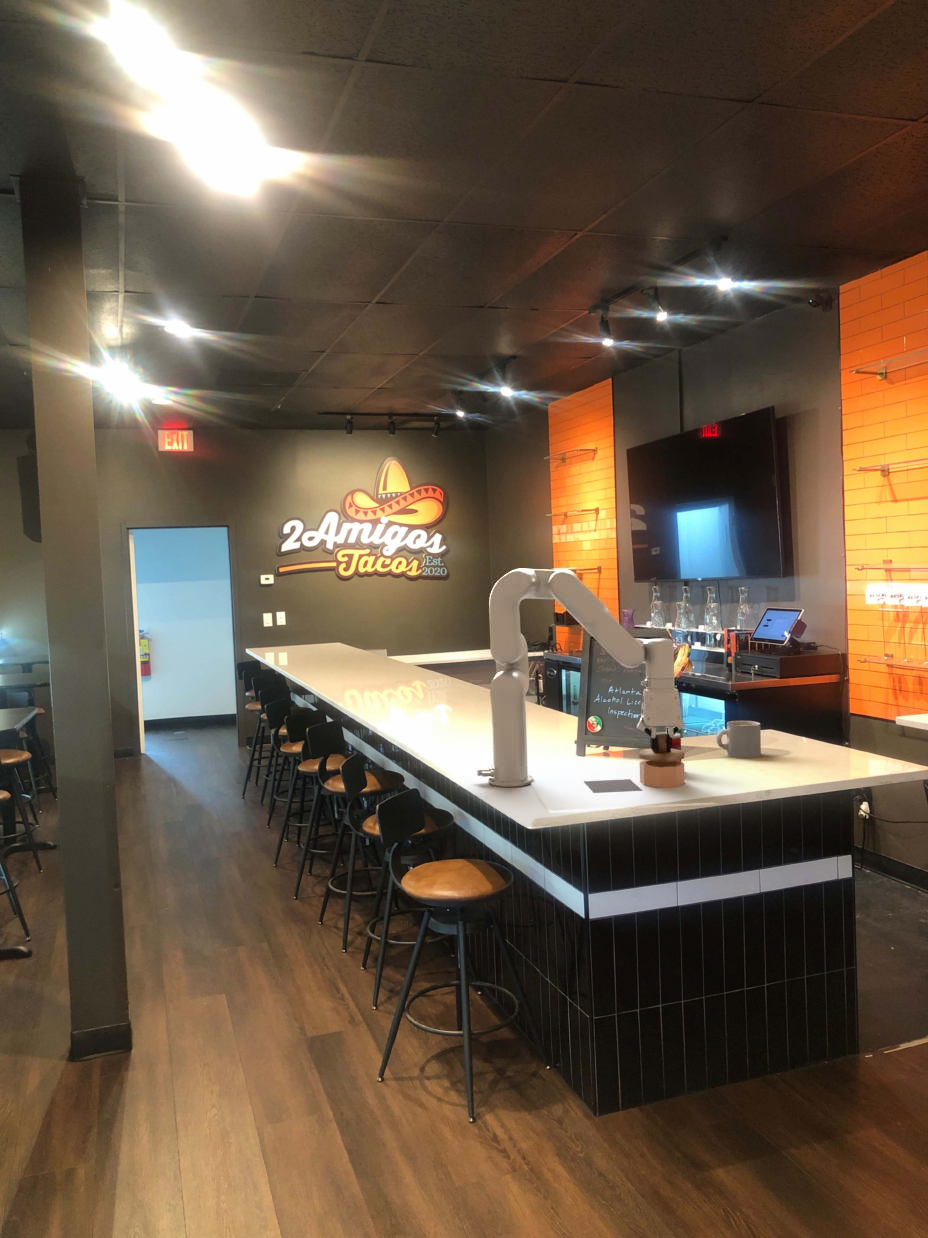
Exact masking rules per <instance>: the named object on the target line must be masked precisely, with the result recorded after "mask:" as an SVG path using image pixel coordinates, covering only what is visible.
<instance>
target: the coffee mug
mask: <svg viewBox="0 0 928 1238" xmlns="http://www.w3.org/2000/svg"><path fill="white" fill-rule="evenodd" d="M761 733H762V732H761V723H760V722H758V721H753V720H731V721H728V722H727V723H726V728H725V729H721V730H719V731H718V732H717V734H716V743H717V745H718V747H719V748H721V749H723V750H724V751H726V753H727V756H728V757H731V758H735V759H757V758H760V757H762V755H761V754H762V752H761V751H762V750H761V749H762V746H761V745H762V744H761V743H762V741H761ZM724 735H726V743H723V741H722V738H723V736H724Z"/></svg>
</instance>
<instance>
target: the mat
mask: <svg viewBox="0 0 928 1238" xmlns="http://www.w3.org/2000/svg"><path fill="white" fill-rule="evenodd" d="M583 783H584V784H585V785H586V786H587V787H588V788H589V789H590V790H591V792H592V793H594V794H595V793H598V794H600V793H601V794H602V793H617V792H620V793H621V792H623V793H624V792H639V791H640V792H642V791H643V789H642V788H640V787H639V785H638V784H636V782H634V781H632V780H631V778H629V779H625V778H624V779H607V780H602V779H601V780H584V781H583Z"/></svg>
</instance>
